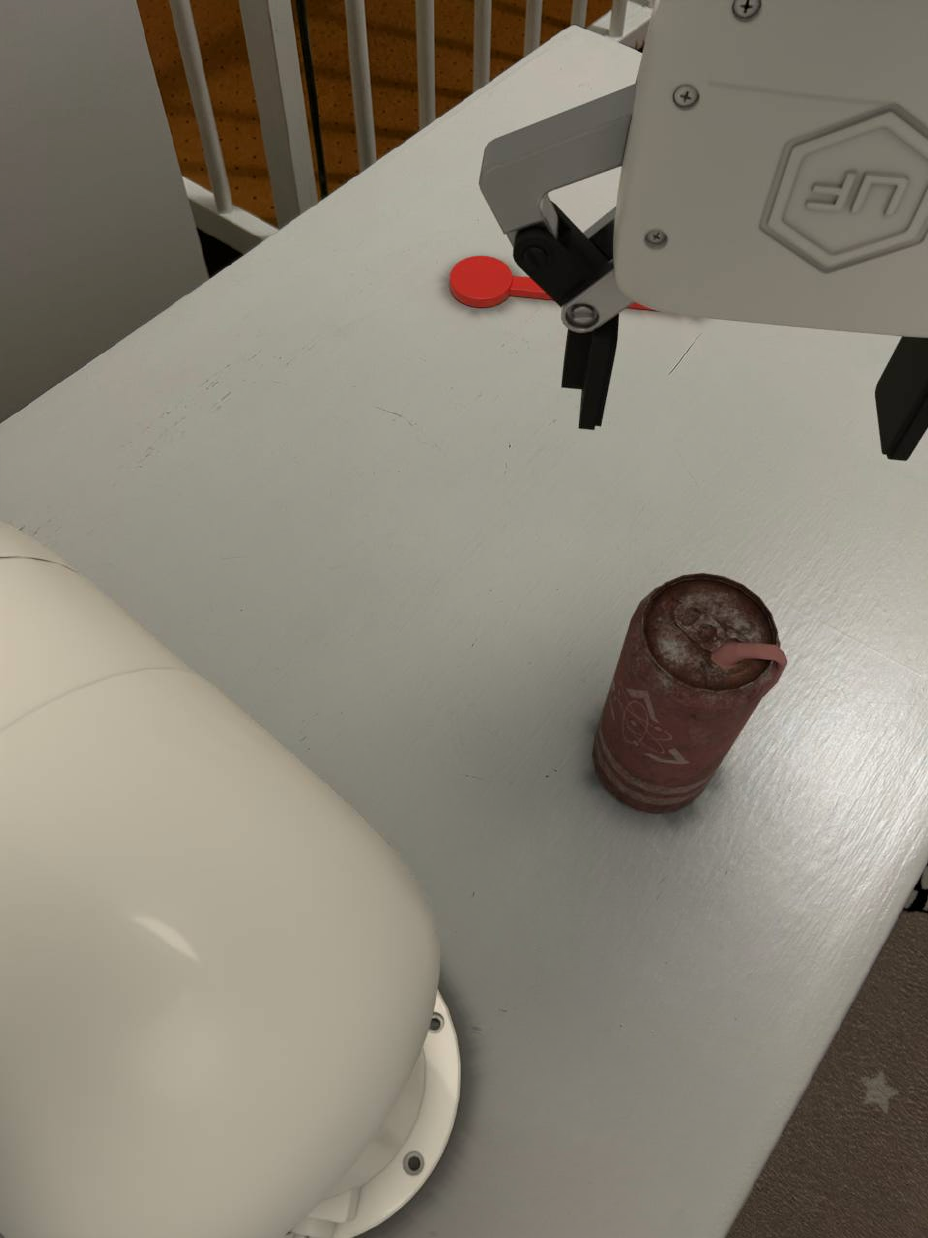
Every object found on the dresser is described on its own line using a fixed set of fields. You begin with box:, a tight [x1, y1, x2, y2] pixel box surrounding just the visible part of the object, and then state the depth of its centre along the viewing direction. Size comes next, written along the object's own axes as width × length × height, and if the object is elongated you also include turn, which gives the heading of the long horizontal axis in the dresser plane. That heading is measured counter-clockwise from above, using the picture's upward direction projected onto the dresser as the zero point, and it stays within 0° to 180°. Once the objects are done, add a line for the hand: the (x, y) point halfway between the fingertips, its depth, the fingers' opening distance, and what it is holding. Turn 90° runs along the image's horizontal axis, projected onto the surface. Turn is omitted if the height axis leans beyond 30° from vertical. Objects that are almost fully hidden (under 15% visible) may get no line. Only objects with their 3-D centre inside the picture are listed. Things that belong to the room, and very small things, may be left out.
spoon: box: [449, 255, 658, 312], centre depth 67 cm, size 17×4×1 cm, turn 82°
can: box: [591, 572, 788, 815], centre depth 44 cm, size 6×6×14 cm
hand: (738, 411), depth 32 cm, fingers open, 9 cm apart
